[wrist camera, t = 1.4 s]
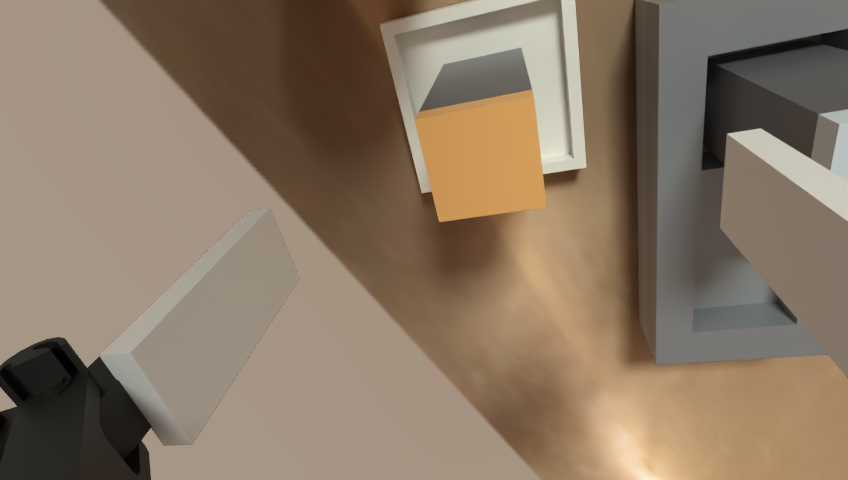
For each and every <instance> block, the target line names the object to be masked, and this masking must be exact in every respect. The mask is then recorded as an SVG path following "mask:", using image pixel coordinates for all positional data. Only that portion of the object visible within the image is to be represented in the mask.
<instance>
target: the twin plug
mask: <svg viewBox="0 0 848 480" xmlns="http://www.w3.org/2000/svg"><path fill="white" fill-rule="evenodd" d="M759 128H761V129H763V130H764V131H766V132H768V133H769V134H771V135H773V136H774V137H776V138H777V139H779V140H781V141H782V142H784V143H786V144H787V145H789V146H791V147H792V148H794V149H795V150H797V151H799V152H800V153H802V154H804V155H805V156H807V157H809V158H810V159H812V160H813V161H815V162H817V163H818V164H820V165H822V166H823V167H825V168H827V169H828V170H830V171H831V172H833V173H835V174H836V175H838V176H840V177H841V178H843V179H845V180H846V181H848V51H847V50H843V49H839V48H835V47H831V46H828V45H824V44H820V43H816V42H812V41H808V40H801V41H796V42H791V43H786V44H781V45H776V46H771V47H766V48H761V49H755V50H750V51H745V52H740V53H735V54H730V55H725V56H720V57H715V58H709V59H708V61H707V79H706V96H705V114H704V131H703V145H704V146H705V147H706V148H707V149H708V150H709V151H710V152H712V153H713V154H714V155H715V156H716V157H717V158H718V159H719V160H720V161H722V162H723V163H724V164H725V152H726V139H727V134H728V133H734V132H741V131H747V130H753V129H759Z"/></svg>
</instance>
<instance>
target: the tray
mask: <svg viewBox="0 0 848 480" xmlns="http://www.w3.org/2000/svg"><path fill="white" fill-rule="evenodd" d="M380 29H381V33H382V37H383V41H384V45H385V49H386V53H387V57H388V61H389V65H390V69H391V73H392V77H393V81H394V85H395V89H396V93H397V97H398V101H399V105H400V109H401V113H402V117H403V121H404V125H405V128H406V132H407V136H408V140H409V144H410V148H411V152H412V156H413V160H414V164H415V168H416V172H417V176H418V180H419V184H420V188H421V192H422V193H426V192H432V191H431V187H430V182H429V178H428V174H427V170H426V166H425V162H424V157H423V153H422V149H421V145H420V141H419V137H418V133H417V128H416V124H415V118H416V116H417V114H418V112H419V110H420V108H421V107H422V105H423V103H424V101H425V99H426V97H427V95H428V93H429V91H430V89H431V88H432V86H433V84H434V82H435V80H436V78H437V76H438V74H439V72H440V70H441V68H442V67H443V65H444V64H448V63H453V62H457V61H462V60H466V59H471V58H476V57H480V56H485V55H489V54H494V53H498V52H503V51H508V50H512V49H517V48H522V52H523V56H524V60H525V64H526V68H527V72H528V75H529V79H530V83H531V87H532V91H533V95H534V101H535V109H536V118H537V127H538V135H539V144H540V153H541V161H542V170H543V174H548V173H554V172H561V171H567V170H573V169H580V168H586V155H585V140H584V125H583V110H582V95H581V80H580V66H579V51H578V36H577V21H576V6H575V0H470V1H466V2H462V3H458V4H454V5H450V6H446V7H442V8H438V9H434V10H430V11H426V12H422V13H418V14H414V15H410V16H406V17H402V18H397V19H393V20H389V21H385V22H384V23H382V24H380Z"/></svg>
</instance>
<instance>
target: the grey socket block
mask: <svg viewBox="0 0 848 480" xmlns="http://www.w3.org/2000/svg"><path fill="white" fill-rule="evenodd" d="M635 39H636V118H637V197H638V276H639V323H640V326H641V328H642V331H643V333H644V336H645V338H646V341H647V344H648V346H649V349H650V351H651V354H652V357H653V359H654V362H655V364H656V365H668V364H684V363H700V362H716V361H732V360H748V359H764V358H780V357H796V356H812V355H828V354H827V353H826V352H825V351H824V349H823V348H822V347H821V346H820V345H819V344H818V342H817V341H816V340H815V339H814V338H813V337H812V335H811V334H810V333H809V332H808V331H807V330H806V328H805V327H804V326H803V325H802V324H801V322H800V321H799V320H798V319H797V318H796V317H795V315H794V314H793V313H792V312H791V311H790V310H789V308H788V307H787V306H786V305H785V304H784V302H783V301H782V300H781V299H780V298H779V297H778V295H777V294H776V293H775V292H774V291H773V290H772V288H771V287H770V286H769V285H768V284H767V283H766V281H765V280H764V279H763V278H762V277H761V275H760V274H759V273H758V272H757V271H756V270H755V268H754V267H753V266H752V265H751V264H750V263H749V261H748V260H747V259H746V258H745V257H744V255H743V254H742V253H741V252H740V251H739V250H738V248H737V247H736V246H735V245H734V244H733V243H732V241H731V240H730V239H729V238H728V237H727V236H726V234H725V233H724V232H723V231H722V230H721V228H720V219H721V206H722V192H723V179H724V166H725V164H724V163H723V162H722V161H720V160H719V159H718V158H717V157H716V156H715V155H714V154H713V153H712V152H710V151H709V150H708V149H707V148H706V147H705V146H704V145H703V131H704V114H705V96H706V79H707V61H708V59H709V58H715V57H720V56H725V55H730V54H735V53H740V52H745V51H750V50H755V49H761V48H766V47H771V46H776V45H781V44H786V43H791V42H796V41H801V40H808V41H812V42H816V43H820V44H824V45H828V46H831V47H835V48H839V49H843V50H847V51H848V0H635Z"/></svg>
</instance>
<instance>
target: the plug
mask: <svg viewBox="0 0 848 480" xmlns="http://www.w3.org/2000/svg"><path fill="white" fill-rule="evenodd" d="M415 124H416V128H417V133H418V137H419V141H420V145H421V149H422V153H423V157H424V162H425V166H426V170H427V174H428V178H429V182H430V187H431V191H432V195H433V199H434V203H435V207H436V212H437V216H438V220H439V222H444V221H451V220H458V219H466V218H473V217H480V216H487V215H494V214H501V213H508V212H515V211H523V210H530V209H537V208H544V207H547V205H546V196H545V188H544V179H543V170H542V161H541V153H540V144H539V135H538V127H537V118H536V109H535V101H534V95H533V91H532V87H531V83H530V79H529V75H528V72H527V68H526V64H525V60H524V56H523V52H522V48H517V49H512V50H508V51H503V52H498V53H494V54H489V55H485V56H480V57H476V58H471V59H466V60H462V61H457V62H453V63H448V64H444V65H443V67H442V68H441V70H440V72H439V74H438V76H437V78H436V80H435V82H434V84H433V86H432V88H431V89H430V91H429V93H428V95H427V97H426V99H425V101H424V103H423V105H422V107H421V108H420V110H419V112H418V114H417V116H416V118H415Z"/></svg>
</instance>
